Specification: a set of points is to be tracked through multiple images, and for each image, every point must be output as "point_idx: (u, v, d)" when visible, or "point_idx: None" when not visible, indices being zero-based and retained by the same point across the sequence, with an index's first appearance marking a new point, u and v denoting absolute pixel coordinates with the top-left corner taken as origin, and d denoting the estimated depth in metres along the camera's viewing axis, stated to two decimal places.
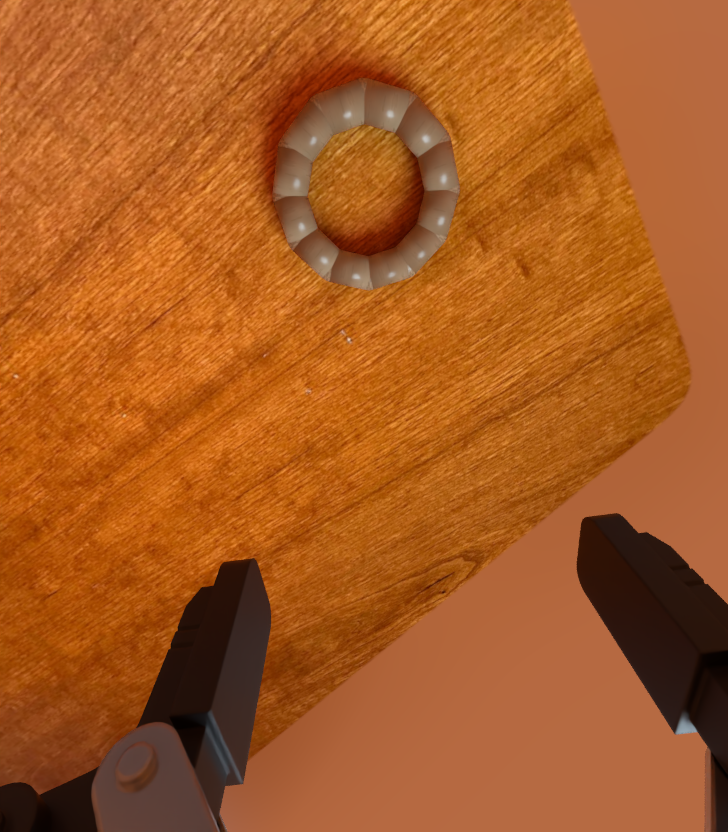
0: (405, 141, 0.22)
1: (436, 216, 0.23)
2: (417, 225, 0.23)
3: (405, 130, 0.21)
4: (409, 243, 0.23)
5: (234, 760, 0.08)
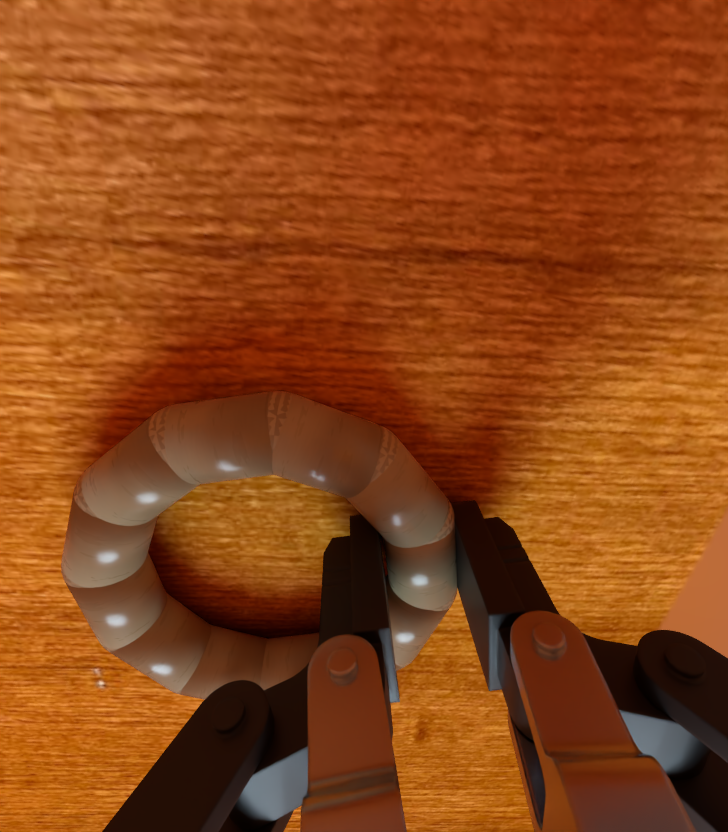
0: (387, 558, 0.11)
1: None
2: None
3: (398, 559, 0.10)
4: (284, 679, 0.12)
5: (396, 678, 0.09)
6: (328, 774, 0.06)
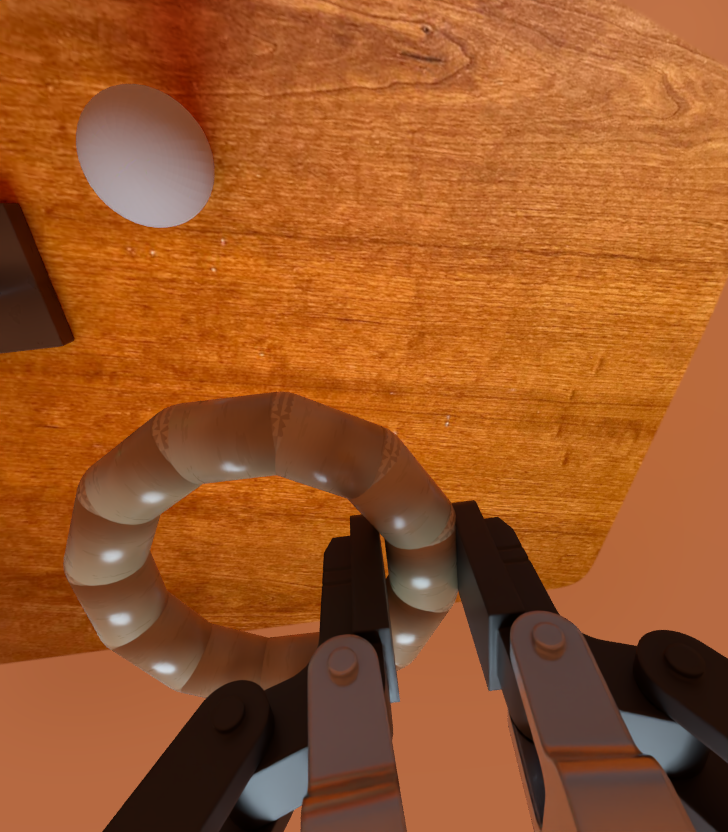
0: (388, 559, 0.11)
1: None
2: None
3: (399, 560, 0.10)
4: (285, 678, 0.12)
5: (396, 678, 0.09)
6: (328, 774, 0.06)
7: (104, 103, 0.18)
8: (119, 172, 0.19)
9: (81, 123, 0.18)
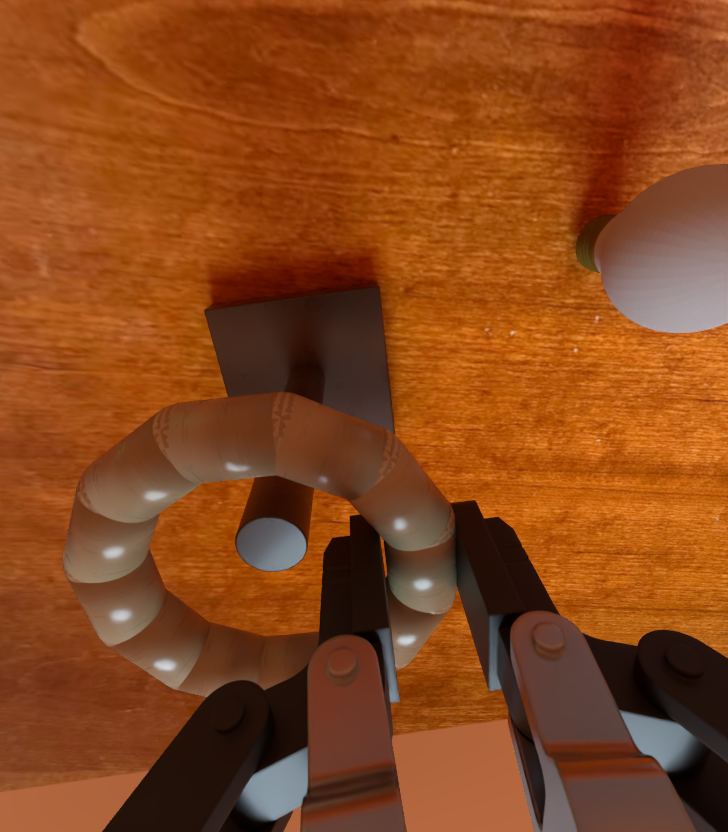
0: (387, 560, 0.11)
1: None
2: None
3: (398, 561, 0.10)
4: (282, 677, 0.12)
5: (396, 678, 0.09)
6: (328, 774, 0.06)
7: None
8: None
9: (691, 221, 0.14)
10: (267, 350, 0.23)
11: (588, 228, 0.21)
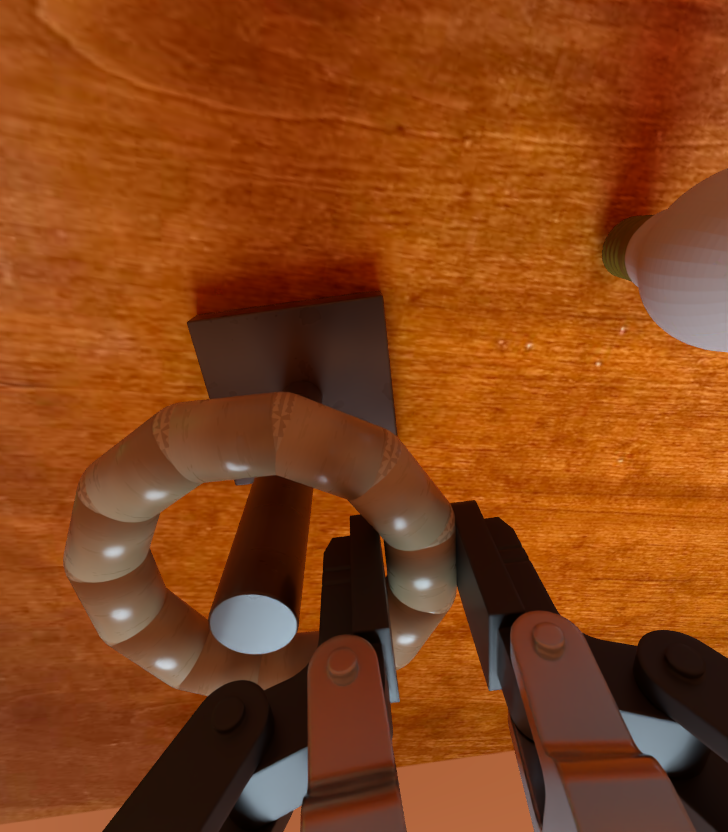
0: (387, 560, 0.11)
1: None
2: None
3: (398, 561, 0.10)
4: (282, 677, 0.12)
5: (396, 678, 0.09)
6: (328, 774, 0.06)
7: None
8: None
9: None
10: (258, 366, 0.21)
11: (617, 230, 0.19)
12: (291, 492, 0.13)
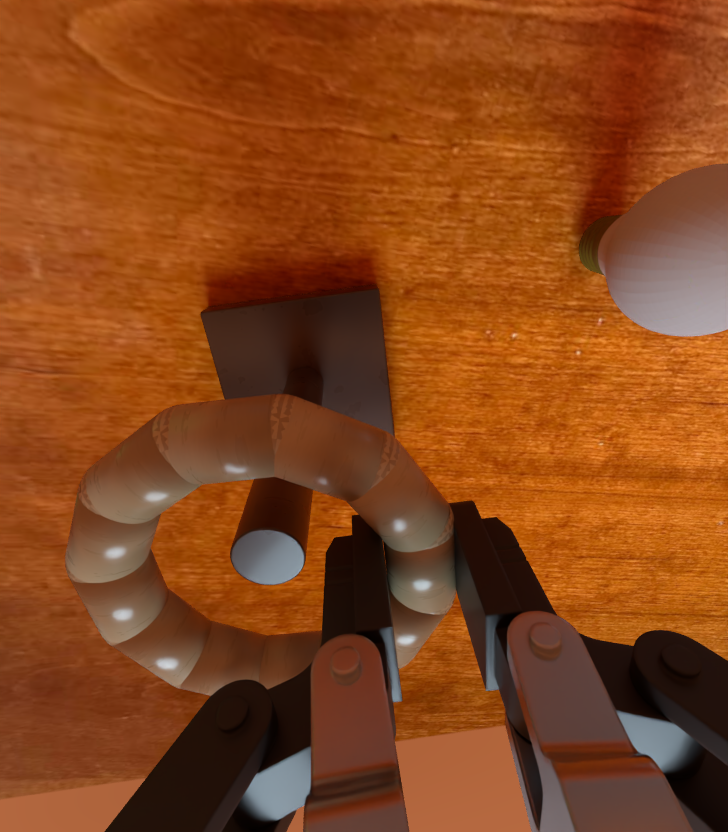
0: (386, 561, 0.11)
1: None
2: None
3: (397, 562, 0.10)
4: (283, 676, 0.12)
5: (399, 678, 0.09)
6: (331, 773, 0.06)
7: None
8: None
9: (700, 222, 0.14)
10: (265, 353, 0.23)
11: (591, 229, 0.21)
12: None
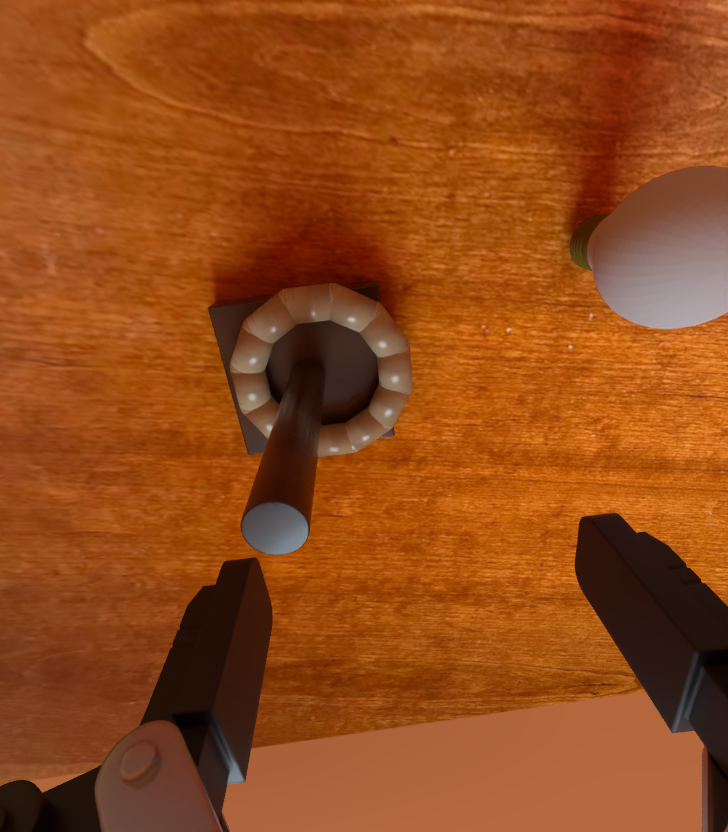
0: (378, 368, 0.23)
1: (361, 435, 0.24)
2: (344, 427, 0.24)
3: (383, 364, 0.23)
4: (328, 436, 0.24)
5: (237, 758, 0.08)
6: None
7: (724, 197, 0.14)
8: (723, 281, 0.15)
9: (677, 220, 0.15)
10: None
11: (581, 228, 0.22)
12: (301, 440, 0.16)
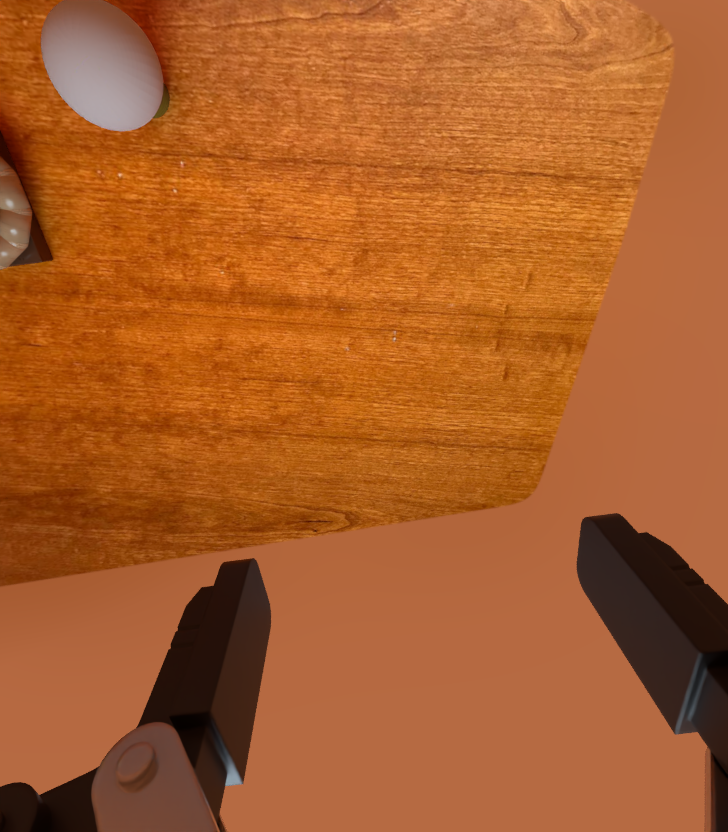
0: None
1: None
2: None
3: None
4: None
5: (234, 760, 0.08)
6: None
7: (62, 8, 0.22)
8: (76, 68, 0.22)
9: (44, 28, 0.22)
10: None
11: None
12: None
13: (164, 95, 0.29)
